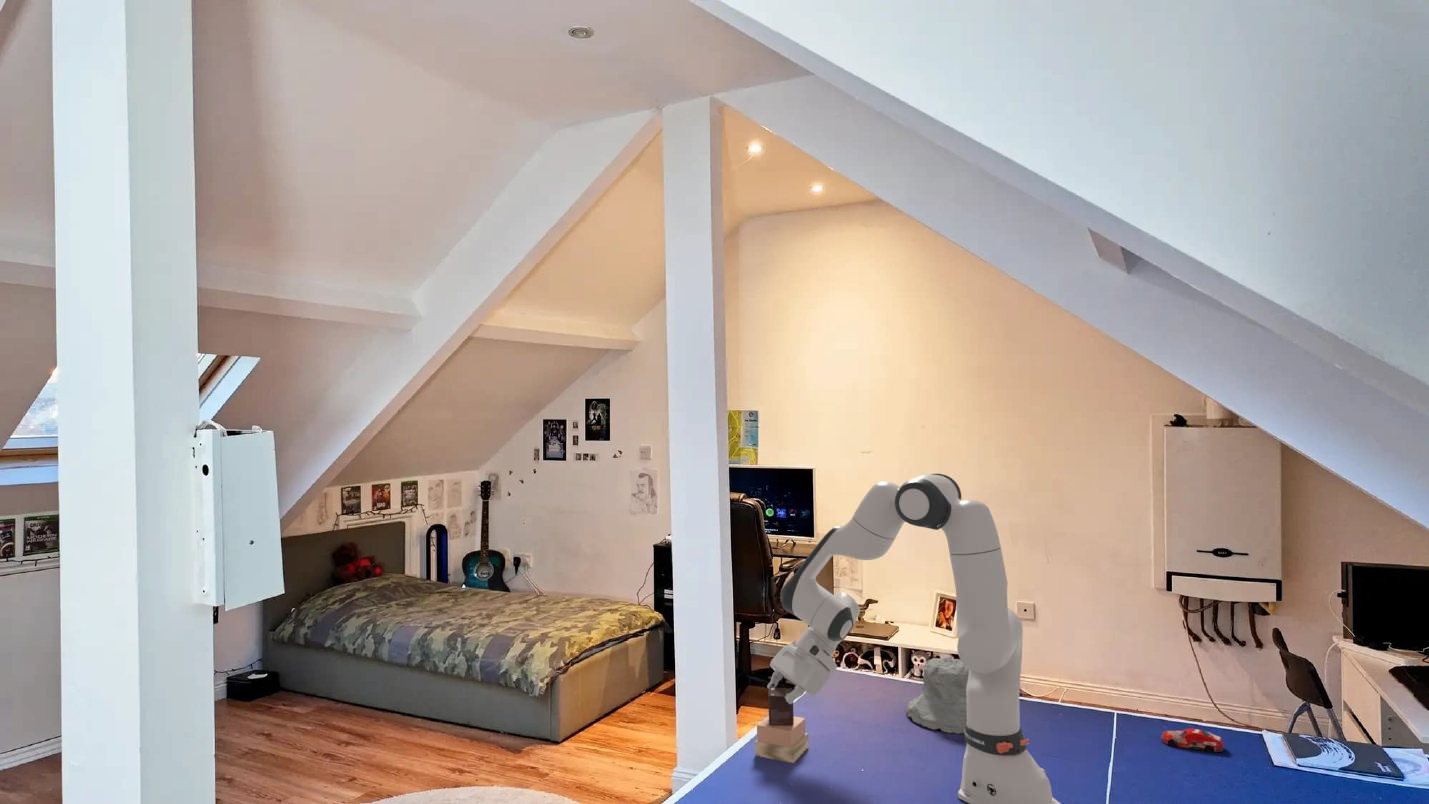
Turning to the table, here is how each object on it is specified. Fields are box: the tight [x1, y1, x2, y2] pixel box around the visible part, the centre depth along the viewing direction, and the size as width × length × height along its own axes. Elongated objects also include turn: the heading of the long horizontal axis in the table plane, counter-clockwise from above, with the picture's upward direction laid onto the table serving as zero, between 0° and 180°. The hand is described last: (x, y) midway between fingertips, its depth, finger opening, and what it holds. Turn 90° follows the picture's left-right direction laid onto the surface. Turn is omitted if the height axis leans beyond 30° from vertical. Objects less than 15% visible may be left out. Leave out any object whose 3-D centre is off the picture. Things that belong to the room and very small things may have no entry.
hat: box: [905, 657, 969, 735], centre depth 225 cm, size 26×23×15 cm
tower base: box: [754, 732, 810, 764], centre depth 206 cm, size 10×10×4 cm
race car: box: [1161, 728, 1225, 753], centre depth 204 cm, size 13×5×4 cm, turn 60°
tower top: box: [756, 715, 806, 748], centre depth 206 cm, size 9×9×4 cm
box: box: [767, 687, 794, 725], centre depth 206 cm, size 6×6×7 cm
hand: (778, 695), depth 206 cm, fingers open, 8 cm apart
